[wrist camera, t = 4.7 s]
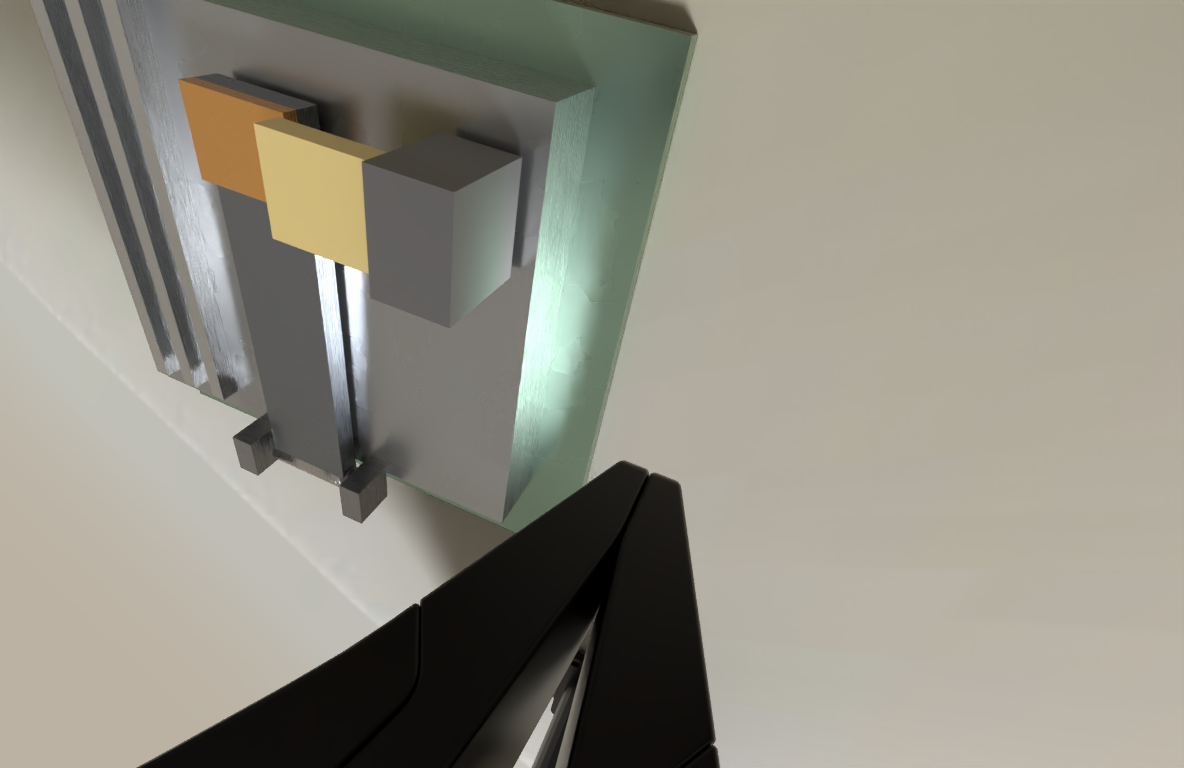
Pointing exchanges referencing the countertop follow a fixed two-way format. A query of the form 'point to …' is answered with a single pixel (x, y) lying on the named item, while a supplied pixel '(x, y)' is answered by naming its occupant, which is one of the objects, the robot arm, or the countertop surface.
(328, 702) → the robot arm
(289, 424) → the grey and orange bar
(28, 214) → the countertop surface
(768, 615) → the countertop surface
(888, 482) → the countertop surface
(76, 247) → the countertop surface
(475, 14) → the heatsink
